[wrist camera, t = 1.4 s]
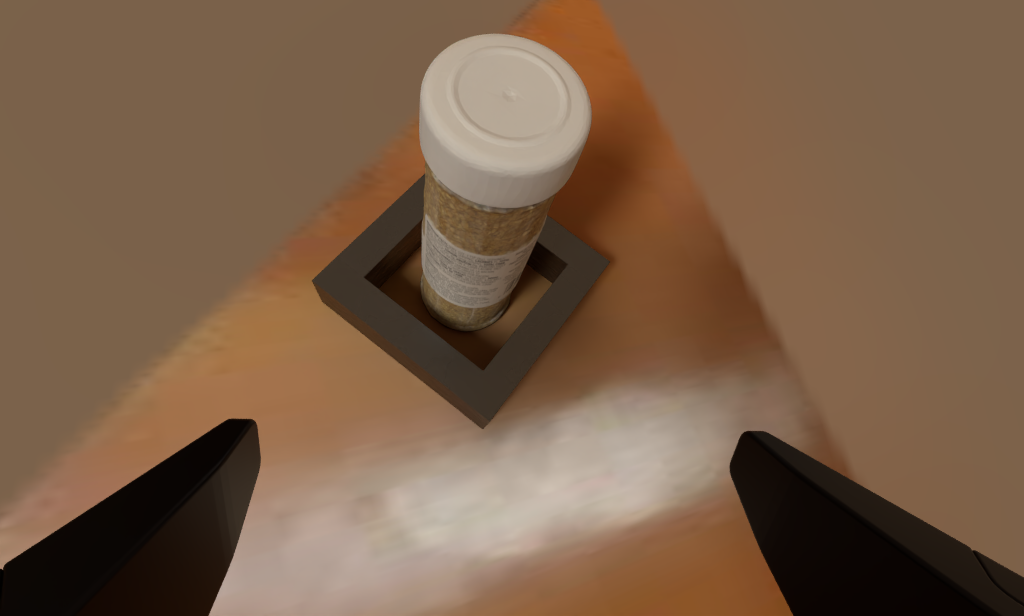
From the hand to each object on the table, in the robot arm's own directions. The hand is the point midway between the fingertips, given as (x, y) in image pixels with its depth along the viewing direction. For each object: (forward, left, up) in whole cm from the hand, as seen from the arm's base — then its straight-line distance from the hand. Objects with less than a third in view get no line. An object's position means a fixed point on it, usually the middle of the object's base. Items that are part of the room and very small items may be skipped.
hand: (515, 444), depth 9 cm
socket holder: (+7, +5, -14) cm, 16 cm away
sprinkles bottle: (+7, +5, -14) cm, 17 cm away
